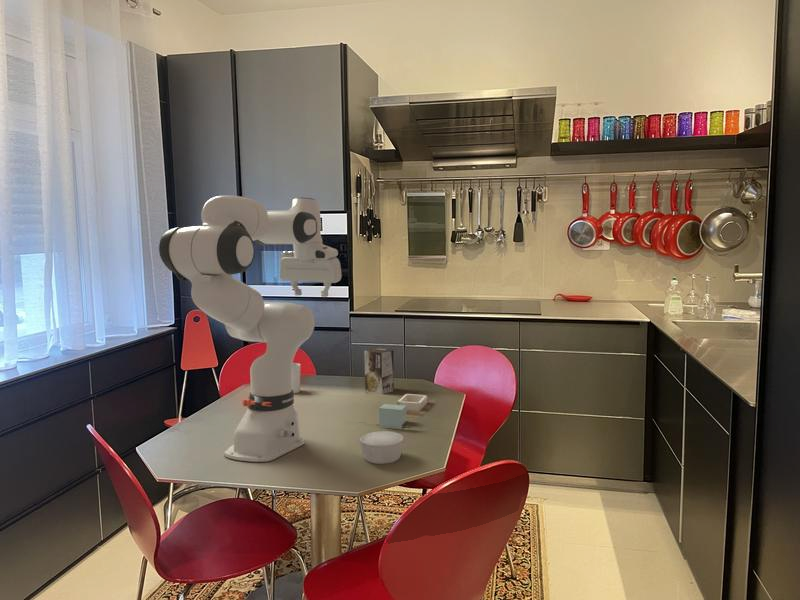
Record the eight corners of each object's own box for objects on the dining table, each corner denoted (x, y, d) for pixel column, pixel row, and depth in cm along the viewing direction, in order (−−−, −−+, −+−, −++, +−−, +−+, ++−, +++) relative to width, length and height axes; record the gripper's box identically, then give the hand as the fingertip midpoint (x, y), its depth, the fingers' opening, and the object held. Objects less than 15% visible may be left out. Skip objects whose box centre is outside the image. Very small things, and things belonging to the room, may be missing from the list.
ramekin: (351, 456, 154) (351, 436, 153) (386, 447, 161) (386, 428, 160) (376, 469, 145) (376, 448, 144) (412, 459, 152) (412, 438, 151)
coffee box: (394, 394, 214) (394, 349, 213) (382, 397, 210) (381, 352, 208) (376, 389, 220) (376, 346, 219) (364, 393, 216) (363, 349, 214)
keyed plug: (402, 429, 175) (401, 409, 174) (379, 427, 177) (379, 408, 176) (406, 425, 179) (406, 405, 178) (384, 423, 181) (384, 403, 181)
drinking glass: (303, 389, 222) (302, 363, 221) (298, 394, 215) (297, 367, 214) (285, 389, 222) (285, 362, 221) (280, 393, 216) (279, 366, 215)
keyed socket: (419, 411, 189) (419, 403, 189) (397, 409, 191) (397, 401, 191) (427, 402, 198) (427, 395, 198) (405, 401, 201) (405, 393, 200)
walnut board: (420, 421, 182) (420, 418, 182) (383, 418, 185) (383, 414, 185) (436, 404, 201) (436, 400, 201) (402, 401, 204) (402, 398, 204)
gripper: (273, 252, 182) (277, 296, 185) (332, 253, 174) (335, 299, 177) (285, 249, 188) (288, 292, 191) (342, 250, 180) (345, 295, 183)
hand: (311, 295), depth 184 cm, fingers open, 8 cm apart
